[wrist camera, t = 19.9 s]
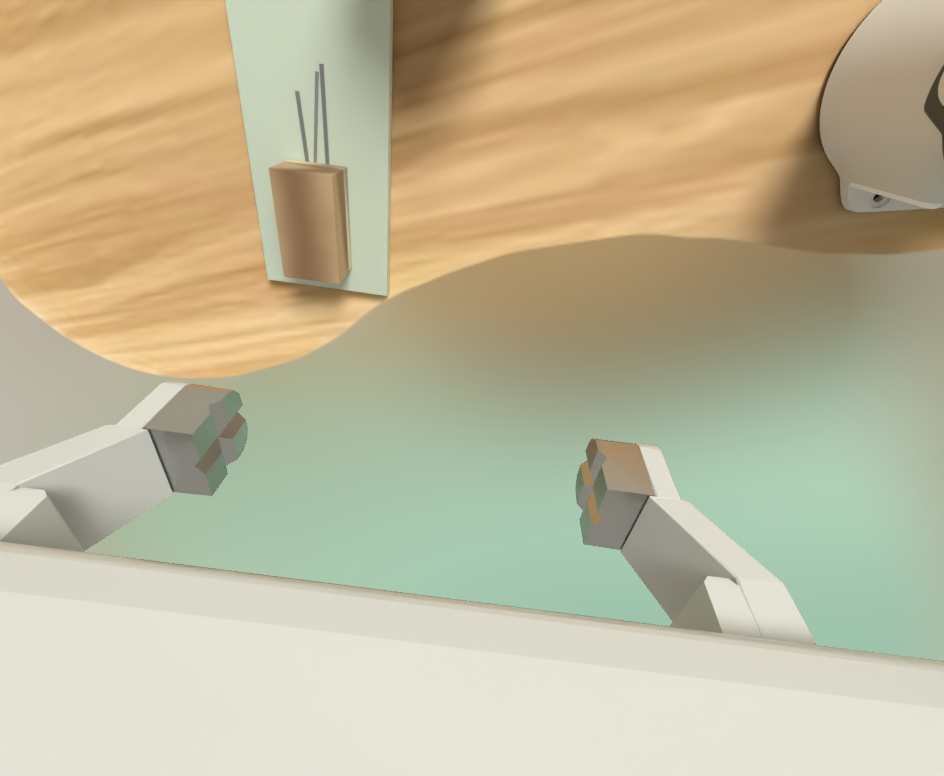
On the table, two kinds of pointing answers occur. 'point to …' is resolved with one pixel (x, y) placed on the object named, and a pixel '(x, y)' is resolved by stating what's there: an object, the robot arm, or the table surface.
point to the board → (320, 114)
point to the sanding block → (312, 220)
